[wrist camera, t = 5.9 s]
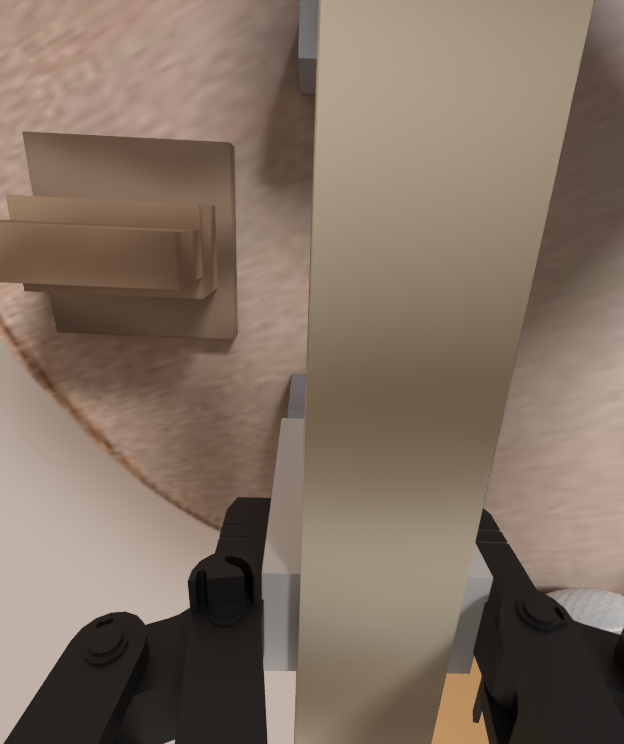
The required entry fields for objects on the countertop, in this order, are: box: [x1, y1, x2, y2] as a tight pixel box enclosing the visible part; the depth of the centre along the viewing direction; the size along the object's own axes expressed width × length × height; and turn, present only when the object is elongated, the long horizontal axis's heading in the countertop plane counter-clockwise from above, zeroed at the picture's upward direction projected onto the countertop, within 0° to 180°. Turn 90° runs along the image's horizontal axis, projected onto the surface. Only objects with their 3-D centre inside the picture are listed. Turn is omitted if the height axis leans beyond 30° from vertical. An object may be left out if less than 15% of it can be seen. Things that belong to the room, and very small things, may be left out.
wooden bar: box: [294, 0, 594, 744], centre depth 8 cm, size 28×3×3 cm, turn 178°
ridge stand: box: [0, 132, 238, 339], centre depth 23 cm, size 12×12×10 cm
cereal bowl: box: [546, 588, 624, 635], centre depth 37 cm, size 17×17×7 cm
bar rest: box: [288, 0, 319, 457], centre depth 25 cm, size 26×6×6 cm, turn 177°
